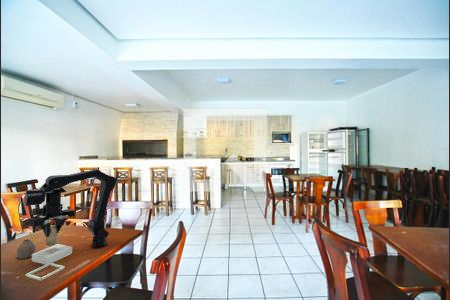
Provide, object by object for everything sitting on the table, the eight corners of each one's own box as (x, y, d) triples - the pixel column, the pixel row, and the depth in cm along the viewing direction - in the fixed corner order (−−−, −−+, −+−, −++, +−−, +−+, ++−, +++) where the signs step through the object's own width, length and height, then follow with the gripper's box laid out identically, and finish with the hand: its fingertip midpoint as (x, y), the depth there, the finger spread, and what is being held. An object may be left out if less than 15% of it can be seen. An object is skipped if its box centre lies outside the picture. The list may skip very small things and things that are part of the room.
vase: (36, 258, 108) (37, 240, 108) (17, 263, 103) (17, 244, 103) (34, 253, 112) (34, 236, 112) (15, 257, 107) (16, 239, 107)
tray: (50, 265, 102) (50, 262, 102) (64, 269, 99) (64, 266, 99) (25, 277, 92) (25, 274, 92) (40, 282, 89) (40, 278, 89)
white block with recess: (57, 251, 115) (57, 243, 115) (72, 254, 112) (72, 247, 112) (31, 262, 104) (31, 254, 104) (47, 266, 101) (47, 258, 101)
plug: (52, 241, 108) (53, 225, 108) (58, 243, 106) (59, 226, 106) (43, 244, 104) (44, 228, 104) (49, 246, 103) (50, 229, 103)
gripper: (61, 196, 116) (59, 226, 117) (18, 204, 99) (17, 239, 99) (76, 199, 113) (75, 229, 113) (35, 208, 95) (34, 244, 95)
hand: (51, 235), depth 105 cm, fingers closed on plug, 4 cm apart
